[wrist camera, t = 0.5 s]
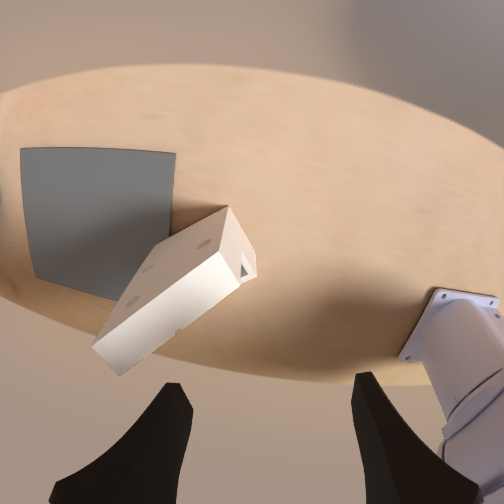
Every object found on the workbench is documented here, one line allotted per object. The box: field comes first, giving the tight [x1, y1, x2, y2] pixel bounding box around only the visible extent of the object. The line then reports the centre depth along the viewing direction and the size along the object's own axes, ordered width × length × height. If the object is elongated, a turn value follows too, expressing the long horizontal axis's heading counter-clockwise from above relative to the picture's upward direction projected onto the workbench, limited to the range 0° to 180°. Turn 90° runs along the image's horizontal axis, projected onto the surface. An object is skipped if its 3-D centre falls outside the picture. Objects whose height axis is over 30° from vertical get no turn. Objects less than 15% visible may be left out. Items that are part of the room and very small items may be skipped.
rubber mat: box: [20, 147, 176, 301], centre depth 19 cm, size 14×12×1 cm
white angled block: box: [91, 206, 257, 376], centre depth 16 cm, size 4×10×9 cm
